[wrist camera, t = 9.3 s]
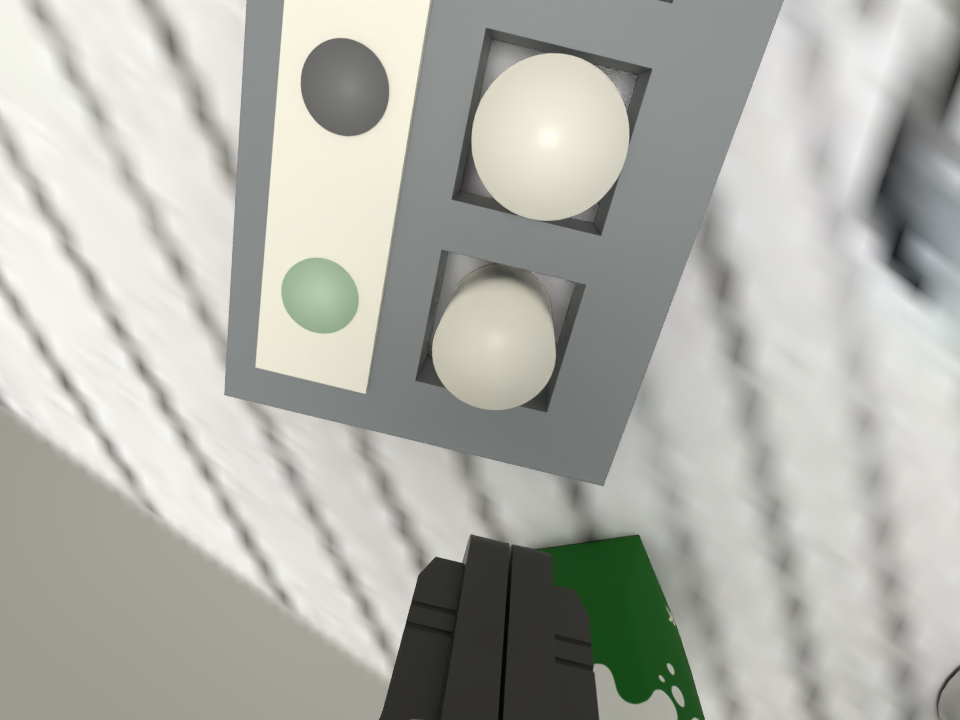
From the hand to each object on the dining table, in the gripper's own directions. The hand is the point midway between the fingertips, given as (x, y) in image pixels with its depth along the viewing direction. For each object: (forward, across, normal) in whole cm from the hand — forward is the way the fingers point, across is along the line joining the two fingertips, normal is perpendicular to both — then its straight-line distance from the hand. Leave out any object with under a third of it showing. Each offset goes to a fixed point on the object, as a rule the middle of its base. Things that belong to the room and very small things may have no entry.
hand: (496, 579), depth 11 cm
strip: (+15, +8, -7) cm, 18 cm away
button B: (+16, +1, -7) cm, 17 cm away
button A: (+18, +1, +1) cm, 18 cm away
